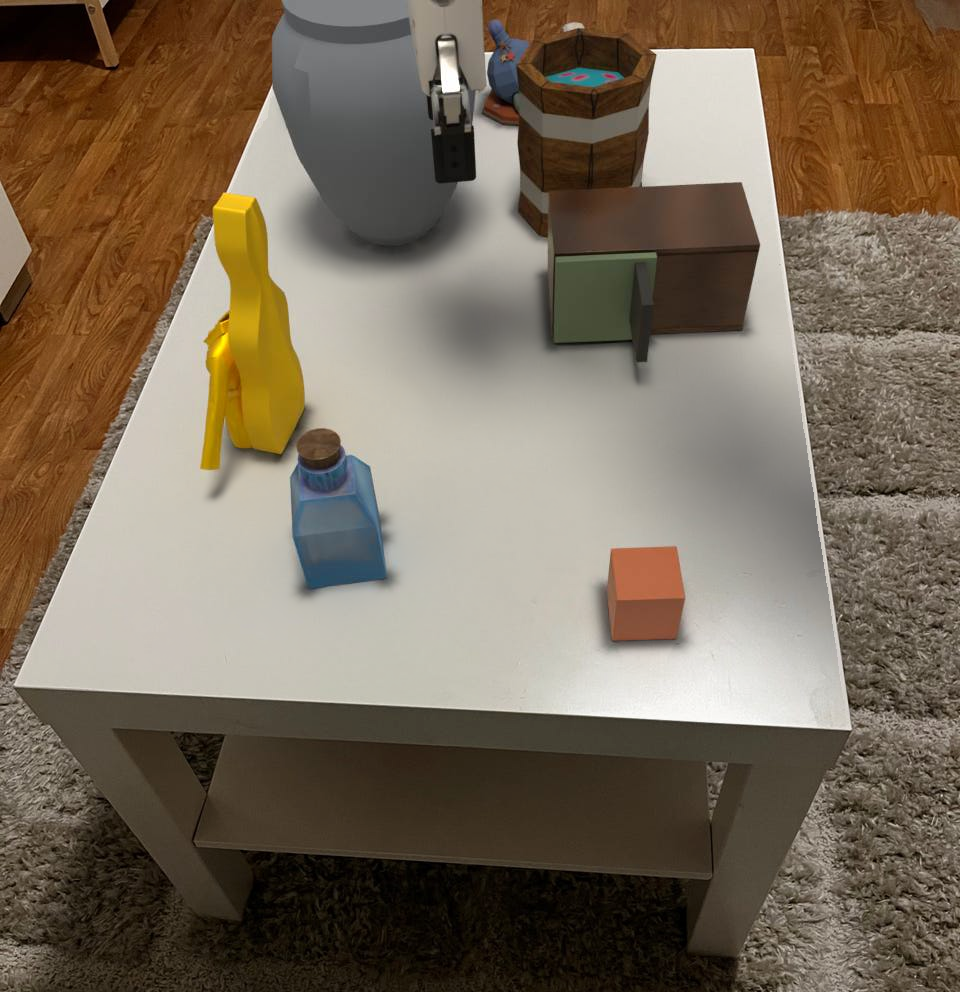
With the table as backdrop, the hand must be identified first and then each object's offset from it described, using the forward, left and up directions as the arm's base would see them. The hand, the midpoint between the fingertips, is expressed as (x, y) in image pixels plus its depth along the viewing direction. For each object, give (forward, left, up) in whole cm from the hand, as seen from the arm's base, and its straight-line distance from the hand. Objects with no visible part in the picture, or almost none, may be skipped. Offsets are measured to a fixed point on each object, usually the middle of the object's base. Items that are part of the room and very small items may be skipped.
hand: (451, 147), depth 78 cm
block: (-13, +34, -18) cm, 41 cm away
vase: (+8, -19, -18) cm, 28 cm away
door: (-13, +5, -18) cm, 23 cm away
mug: (-12, -24, -18) cm, 33 cm away
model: (-8, -43, -18) cm, 47 cm away
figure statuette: (+17, +12, -18) cm, 28 cm away
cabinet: (-17, -4, -18) cm, 26 cm away
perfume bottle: (+10, +27, -18) cm, 34 cm away
